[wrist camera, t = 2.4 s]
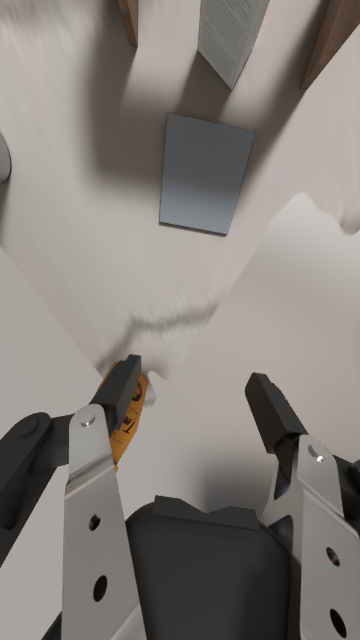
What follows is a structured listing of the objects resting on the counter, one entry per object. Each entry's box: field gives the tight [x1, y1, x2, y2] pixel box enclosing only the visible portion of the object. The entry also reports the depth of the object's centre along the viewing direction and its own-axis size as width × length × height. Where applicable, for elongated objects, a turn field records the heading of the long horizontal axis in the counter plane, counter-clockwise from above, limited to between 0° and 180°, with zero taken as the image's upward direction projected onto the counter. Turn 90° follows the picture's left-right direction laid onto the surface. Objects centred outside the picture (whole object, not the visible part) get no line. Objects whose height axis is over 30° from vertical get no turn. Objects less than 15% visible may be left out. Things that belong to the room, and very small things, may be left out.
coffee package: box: [96, 363, 148, 472], centre depth 36 cm, size 10×12×22 cm
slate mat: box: [159, 112, 255, 234], centre depth 24 cm, size 13×13×1 cm
